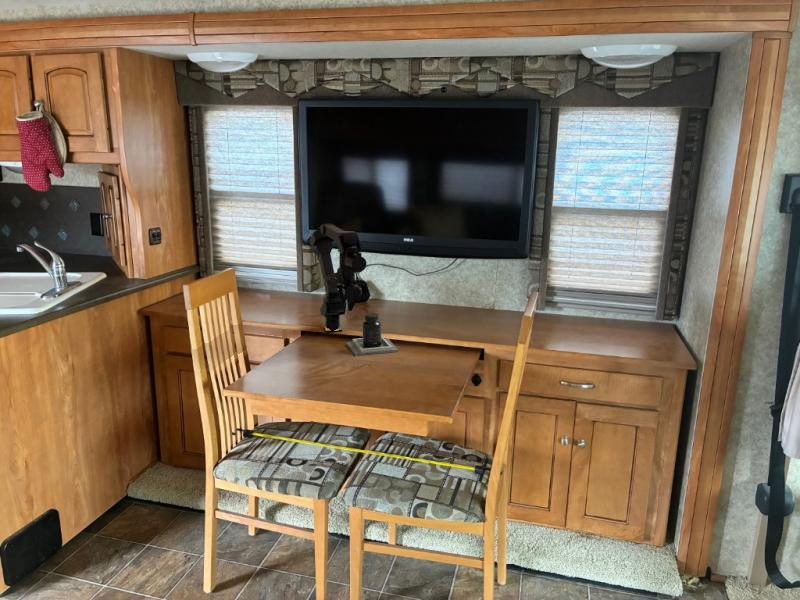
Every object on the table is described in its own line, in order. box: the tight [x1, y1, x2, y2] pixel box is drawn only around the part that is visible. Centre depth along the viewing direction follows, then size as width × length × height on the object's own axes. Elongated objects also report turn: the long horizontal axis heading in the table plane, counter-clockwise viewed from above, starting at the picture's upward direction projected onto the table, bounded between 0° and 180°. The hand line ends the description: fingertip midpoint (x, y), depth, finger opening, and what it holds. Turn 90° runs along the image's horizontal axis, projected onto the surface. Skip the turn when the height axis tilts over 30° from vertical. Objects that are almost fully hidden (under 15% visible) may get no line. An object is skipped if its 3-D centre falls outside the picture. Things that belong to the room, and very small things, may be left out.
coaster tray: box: [346, 335, 399, 357], centre depth 221 cm, size 12×16×2 cm
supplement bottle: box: [362, 312, 382, 348], centre depth 219 cm, size 7×7×12 cm
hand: (346, 307), depth 225 cm, fingers open, 9 cm apart
